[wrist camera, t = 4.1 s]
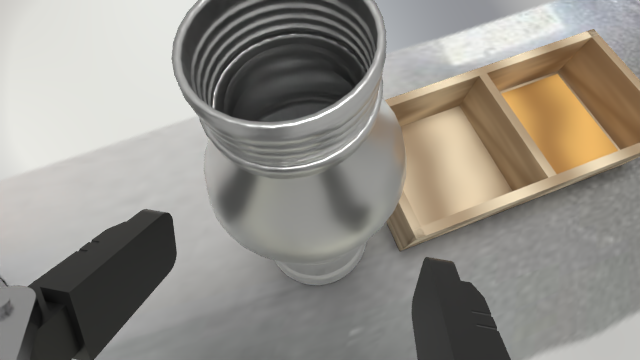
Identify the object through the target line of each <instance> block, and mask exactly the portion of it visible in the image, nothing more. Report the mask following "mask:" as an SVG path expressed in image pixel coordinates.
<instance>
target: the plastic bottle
mask: <svg viewBox="0 0 640 360" xmlns="http://www.w3.org/2000/svg"><path fill="white" fill-rule="evenodd" d="M385 58H386V30H385V25H384V21H383V16H382V14H381V12H380V10H379V8H378V6H377V4H376V3H375V1H374V0H198V1H197V2H196V3H195V5H193V7H192V8H191V9H190V10H189V11H188V12H187V14H186V16H185V17H184V19H183V21H182V22H181V24H180V26H179V27H178V30H177V33H176V36H175V39H174V42H173V50H172V64H173V70H174V75H175V77H176V80H177V82H178V85H179V87H180V89H181V91H182V93H183V96H184V98H185V99H186V101H187V102H188V103H189V105H190V106H191V107H192V108H193V110H194V111H195V112H196V114H197V115H198V116H199V118H200V122H201V124H202V127H203V129H204V131H205V133H206V135H207V136H208V138H209V139H208V143H207V147H206V151H205V157H204V175H205V180H206V186H207V191H208V196H209V202H210V204H211V206H212V209H213V211H214V213H215V215H216V218H217V219H218V221H219V222H220V224H221V225H222V226H223V228H224V229H225V230H226V232H227V233H228V234H229V235H230V236H231V237H232V238H234V239H235V240H236V241H237V242H238V243H240V244H241V245H242V246H243V247H245V248H247V249H249V250H251V251H253V252H254V253H256V254H258V255H260V256H263V257H266V258H269V259H273V260H275V262H276V264H277V265H278V266H279V268H280V269H281V270H282V271H283V272H284V273H285V274H286V275H287V276H288V277H290V278H292V279H294V280H295V281H297V282H300V283H304V284H307V285H324V284H329V283H332V282H335V281H338V280H339V279H341V278H343V277H344V276H346V275H347V274H348V273H349V272H351V271H352V270H353V269H354V268H355V266H356V265H357V264H358V262H359V261H360V259H361V257H362V255H363V253H364V250H365V246H366V243H367V240H368V239H369V238H371V237H372V236H373V235H374V234H375V233H376V232H377V231H379V230H380V229H381V228H382V226H383V225H384V224H385V222H386V221H387V220H388V219H389V217H390V216H391V215H392V213H393V212H394V210H395V208H396V206H397V204H398V201H399V199H400V197H401V195H402V192H403V188H404V183H405V179H406V161H407V157H406V150H405V144H404V139H403V134H402V130H401V127H400V125H399V122H398V120H397V118H396V116H395V113H394V112H393V111H392V109H391V108H390V107H389V105H388V104H387V103H386V101H385V100H384V99H383V98H382V93H383V80H382V72H383V67H384V63H385Z"/></svg>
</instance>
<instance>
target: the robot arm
mask: <svg viewBox="0 0 640 360" xmlns="http://www.w3.org/2000/svg"><path fill="white" fill-rule="evenodd" d="M176 254H177V252H176V243H175V235H174V226H173V219H172V216H171V215H170V214H169V213H166V212H160V211H154V210H148V209H144V210H142V211H140V212H139V213H138V214H136V215H135V216H133V217H132V218H131V219H129V220H128V221H127V222H123V223H121V224H118V225H116V226H114V227H111V228H109V229H107V230H105V231H104V232H102V233H101V234H100V235H98V236H97V237H95V238H94V239H93V240H92V242H91V243H90V242H88V243H87V244H86V245H84V246H83V247H82V248H80V250H79V252H78V251H76V252H75V253H73V254H72V255H70V256H69V257H68V258H66V259H65V260H64V261H62V262H61V263H59V264H58V265H57V266H55V267H54V268H52V269H51V270H50V271H48V272H47V273H45V274H44V275H43V276H41V277H40V278H39V279H37V280H36V281H34V282H33V283H32V284H30V285H29V286H27V287H26V286H9V287H7V286H6V285H5V284H4V283H3V281H2V280H1V279H0V360H71V359H72V358H73V359H77V360H94V359H95V358H96V357H97V355H98V354H99V353H100V352H101V351H102V350H103V348H104V347H105V346H106V345H107V344H108V343H109V342H110V340H111V339H112V338H113V337H114V336H115V335H116V333H117V332H118V331H119V330H120V329H121V328H122V327H123V325H124V324H125V323H126V322H127V321H128V320H129V318H130V317H131V316H132V315H133V314H134V313H135V312H136V310H137V309H138V308H139V307H140V306H141V305H142V303H143V302H144V301H145V300H146V299H147V298H148V297H149V295H150V294H151V293H152V292H153V291H154V290H155V288H156V287H157V286H158V285H159V284H160V283H161V282H162V280H163V279H164V278H165V277H166V276H167V275H168V273H169V272H170V271H171V270H172V268H173V266H174V263H175V260H176ZM412 321H413V329H414V336H415V343H416V350H417V357H418V360H511V359H510V357H509V354H508V352H507V350H506V347H505V345H504V343H503V340H502V338H501V336H500V333H499V331H497V326H496V324H495V322H494V319H493V317H491V312H490V310H489V308H488V305H487V303H486V301H485V298H484V297H483V296H482V295H481V293H480V292H479V291H478V290H477V289H476V288H475V287H474V286H473V285H472V283H470V282H465V281H460V278H459V275H458V272H457V269H456V267H455V264H454V263H453V262H452V261H447V260H441V259H435V258H429V257H426V258H425V259H424V261H423V265H422V268H421V272H420V275H419V278H418V282H417V285H416V289H415V292H414V296H413V301H412Z"/></svg>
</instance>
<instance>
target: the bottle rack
mask: <svg viewBox="0 0 640 360" xmlns="http://www.w3.org/2000/svg"><path fill="white" fill-rule="evenodd" d="M385 101H386V103H387V104H388V105H389V107H390V108H391V109H392V111H393V112H394V113H395V116H396V118H397V120H398V122H399V125H400V127H401V130H402V134H403V139H404V144H405V150H406V157H407V161H406V179H405V183H404V188H403V192H402V195H401V197H400V199H399V201H398V204H397V206H396V208H395V210H394V212H393V213H392V215H391V216H390V217H389V219H388V220H387V221H386V222H387V224H388V226H389V229H390V231H391V233H392V235H393V237H394V240H395V242H396V244H397V246H398V248H399V251H402V250H404V249H407V248H410V247H412V246H415V245H417V244H420V243H422V242H425V241H428V240H430V239H433V238H435V237H438V236H440V235H443V234H446V233H448V232H451V231H453V230H456V229H458V228H461V227H463V226H466V225H469V224H471V223H474V222H476V221H479V220H481V219H484V218H487V217H489V216H492V215H494V214H497V213H499V212H502V211H505V210H507V209H510V208H512V207H515V206H517V205H520V204H523V203H525V202H528V201H530V200H533V199H535V198H538V197H540V196H543V195H546V194H548V193H551V192H553V191H556V190H558V189H561V188H564V187H566V186H569V185H571V184H574V183H576V182H579V181H582V180H584V179H587V178H589V177H592V176H594V175H597V174H599V173H602V172H605V171H607V170H610V169H612V168H615V167H617V166H620V165H623V164H625V163H627V162H629V161H631V160H633V159H635V158H638V157H640V80H639V79H638V78H637V77H636V76H635V74H634V73H633V72H632V71H631V70H630V69H629V68H628V67H627V66H626V64H625V63H624V62H623V61H622V60H621V59H620V58H619V57H618V56H617V54H616V53H615V52H614V51H613V50H612V49H611V48H610V47H609V46H608V44H607V43H606V42H605V41H604V40H603V39H602V38H601V37H600V36H599V34H598V33H597V32H596V31H595V30H594V29H592V30H589V31H586V32H583V33H580V34H577V35H575V36H572V37H569V38H566V39H563V40H560V41H557V42H554V43H551V44H548V45H545V46H542V47H539V48H536V49H533V50H531V51H528V52H525V53H522V54H519V55H516V56H513V57H510V58H507V59H504V60H501V61H498V62H495V63H492V64H489V65H487V66H484V67H481V68H478V69H475V70H472V71H469V72H466V73H463V74H460V75H457V76H454V77H451V78H448V79H446V80H443V81H440V82H437V83H434V84H431V85H428V86H425V87H422V88H419V89H416V90H413V91H410V92H407V93H404V94H402V95H399V96H396V97H393V98H390V99H387V100H385Z"/></svg>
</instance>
